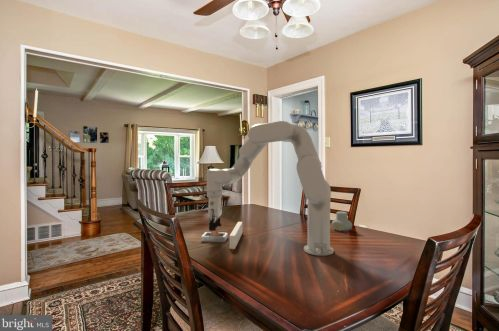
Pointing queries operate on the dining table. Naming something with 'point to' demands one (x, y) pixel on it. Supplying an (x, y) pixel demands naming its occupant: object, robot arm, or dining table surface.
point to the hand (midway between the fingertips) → (214, 227)
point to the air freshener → (341, 222)
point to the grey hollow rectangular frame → (214, 237)
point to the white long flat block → (235, 235)
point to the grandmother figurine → (216, 232)
